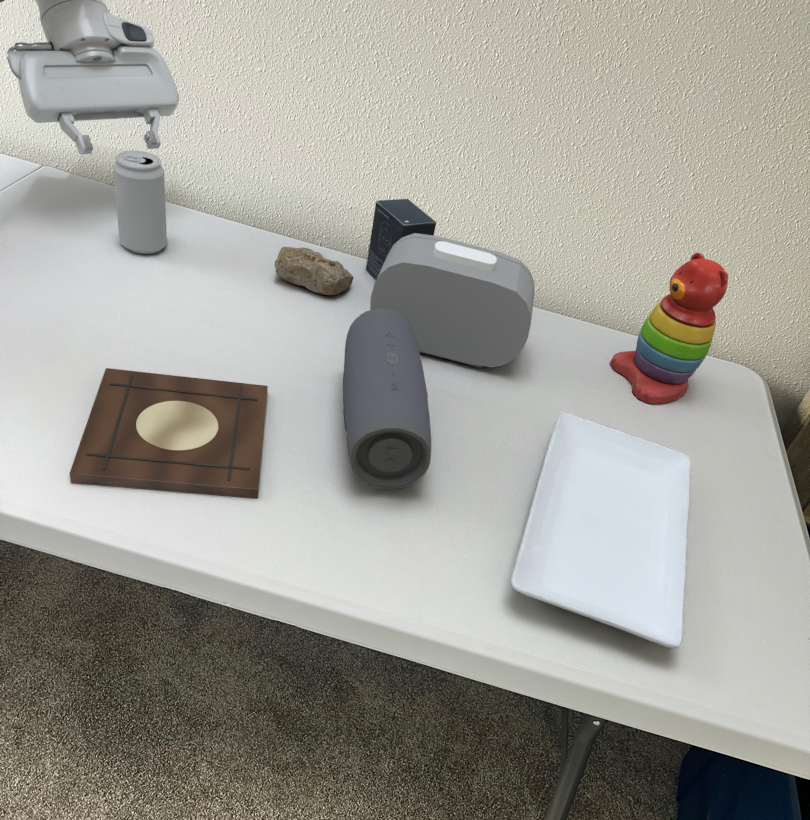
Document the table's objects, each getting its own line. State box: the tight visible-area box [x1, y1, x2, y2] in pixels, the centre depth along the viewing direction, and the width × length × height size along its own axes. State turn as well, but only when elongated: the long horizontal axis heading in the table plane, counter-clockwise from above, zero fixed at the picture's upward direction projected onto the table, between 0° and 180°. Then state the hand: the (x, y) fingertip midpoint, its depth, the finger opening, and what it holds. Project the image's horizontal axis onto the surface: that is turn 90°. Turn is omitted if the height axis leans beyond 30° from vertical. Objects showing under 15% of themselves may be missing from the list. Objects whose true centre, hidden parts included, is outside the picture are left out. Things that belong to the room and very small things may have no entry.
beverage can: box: [112, 150, 168, 255], centre depth 106 cm, size 6×6×12 cm
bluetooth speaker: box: [342, 308, 432, 490], centre depth 87 cm, size 23×9×10 cm, turn 4°
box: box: [365, 198, 437, 280], centre depth 113 cm, size 8×6×11 cm
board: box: [68, 367, 269, 499], centre depth 84 cm, size 18×18×1 cm
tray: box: [510, 411, 692, 650], centre depth 84 cm, size 17×32×4 cm, turn 163°
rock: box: [274, 246, 354, 296], centre depth 110 cm, size 8×11×4 cm
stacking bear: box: [609, 252, 729, 405], centre depth 104 cm, size 11×10×18 cm
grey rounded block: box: [369, 233, 535, 369], centre depth 102 cm, size 21×10×13 cm, turn 80°
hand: (121, 149), depth 105 cm, fingers open, 8 cm apart
